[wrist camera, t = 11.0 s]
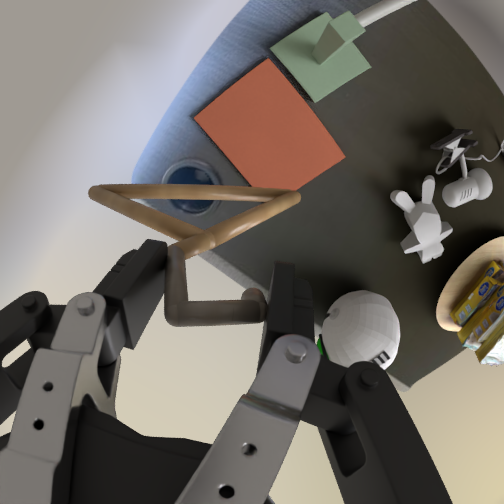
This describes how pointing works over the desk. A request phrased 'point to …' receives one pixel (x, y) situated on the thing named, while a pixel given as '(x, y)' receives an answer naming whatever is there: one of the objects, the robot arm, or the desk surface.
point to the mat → (269, 131)
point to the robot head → (360, 330)
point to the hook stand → (329, 48)
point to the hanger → (198, 243)
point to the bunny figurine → (422, 222)
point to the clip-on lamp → (463, 169)
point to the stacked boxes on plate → (477, 302)
